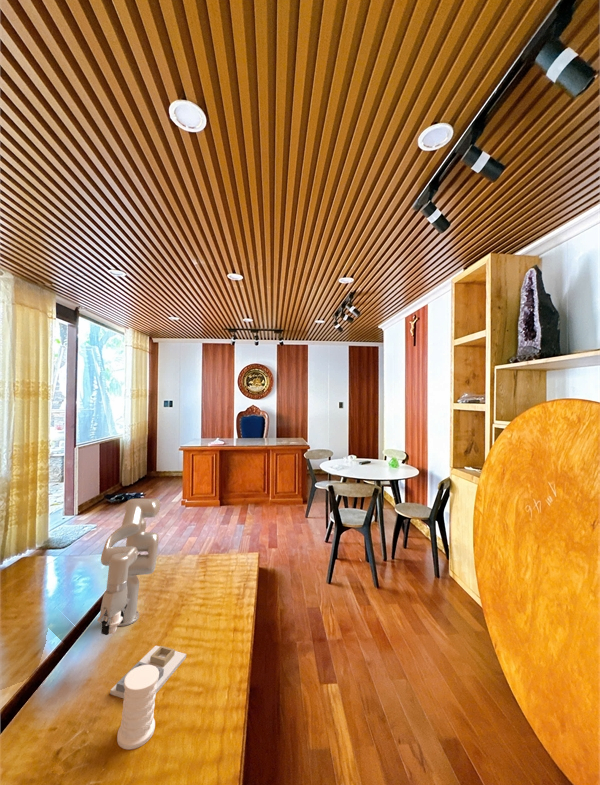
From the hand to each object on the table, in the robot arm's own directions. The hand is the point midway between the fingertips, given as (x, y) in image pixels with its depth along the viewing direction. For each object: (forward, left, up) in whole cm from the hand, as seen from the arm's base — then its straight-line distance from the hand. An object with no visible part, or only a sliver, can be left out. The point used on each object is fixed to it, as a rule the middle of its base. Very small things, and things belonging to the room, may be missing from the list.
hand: (112, 627), depth 139 cm
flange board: (+18, +4, -17) cm, 25 cm away
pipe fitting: (0, 0, -2) cm, 2 cm away
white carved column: (+30, -19, -17) cm, 39 cm away
